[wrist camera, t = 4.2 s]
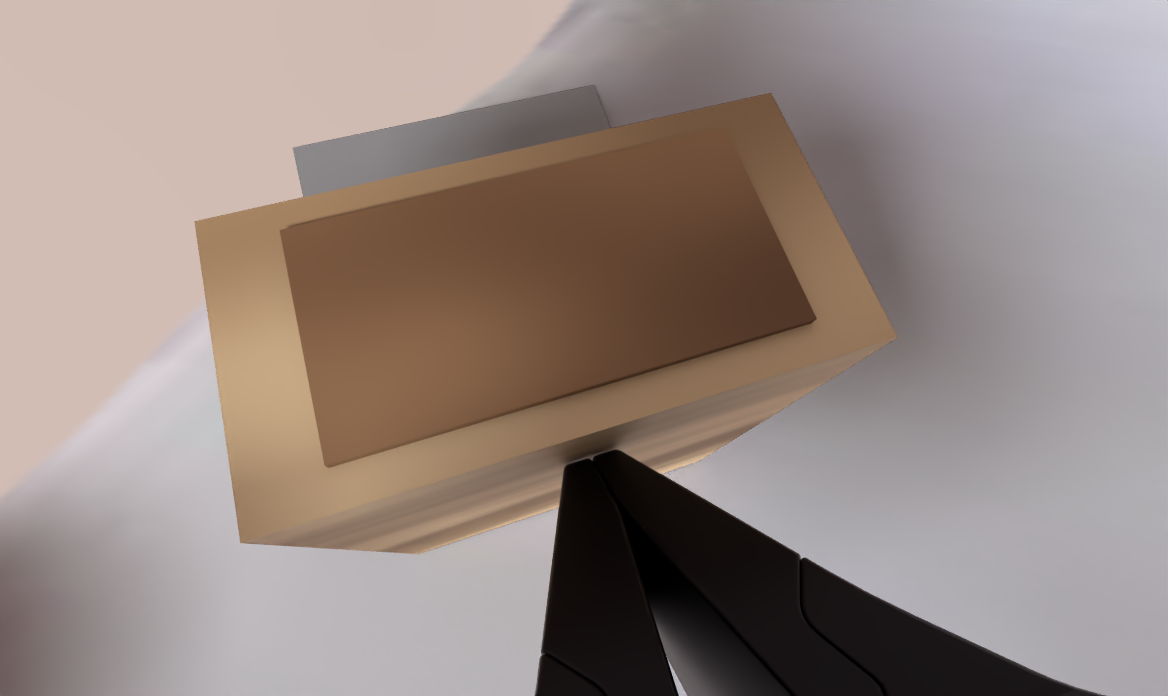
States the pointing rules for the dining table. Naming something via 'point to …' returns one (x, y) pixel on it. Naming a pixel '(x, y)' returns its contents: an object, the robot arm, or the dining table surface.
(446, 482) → the oak block
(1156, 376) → the dining table surface
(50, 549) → the dining table surface
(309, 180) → the felt mat
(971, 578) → the dining table surface
